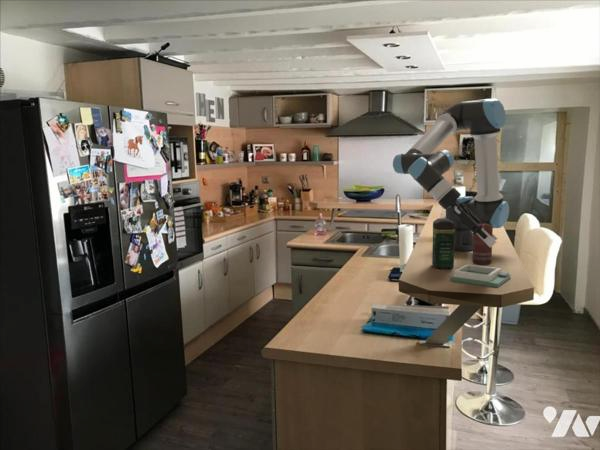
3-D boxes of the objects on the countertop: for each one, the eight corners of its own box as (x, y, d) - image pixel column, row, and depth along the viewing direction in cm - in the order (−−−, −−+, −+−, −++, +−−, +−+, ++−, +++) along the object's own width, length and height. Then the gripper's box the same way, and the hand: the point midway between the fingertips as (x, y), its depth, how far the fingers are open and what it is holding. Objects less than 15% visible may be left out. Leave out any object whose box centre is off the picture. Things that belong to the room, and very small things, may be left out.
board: (464, 271, 180) (465, 263, 180) (510, 277, 170) (510, 268, 170) (450, 280, 169) (450, 271, 169) (497, 287, 159) (498, 277, 159)
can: (474, 265, 166) (475, 224, 164) (471, 261, 172) (472, 222, 170) (493, 265, 165) (494, 224, 163) (489, 261, 171) (490, 222, 169)
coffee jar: (455, 269, 184) (456, 220, 181) (434, 269, 185) (434, 220, 182) (451, 263, 194) (452, 217, 191) (430, 263, 195) (431, 217, 192)
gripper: (441, 199, 181) (486, 245, 177) (432, 204, 163) (483, 255, 159) (456, 184, 178) (503, 231, 174) (449, 189, 160) (501, 240, 156)
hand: (493, 242), depth 166 cm, fingers closed on can, 6 cm apart
